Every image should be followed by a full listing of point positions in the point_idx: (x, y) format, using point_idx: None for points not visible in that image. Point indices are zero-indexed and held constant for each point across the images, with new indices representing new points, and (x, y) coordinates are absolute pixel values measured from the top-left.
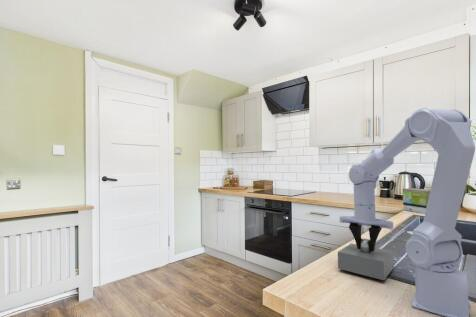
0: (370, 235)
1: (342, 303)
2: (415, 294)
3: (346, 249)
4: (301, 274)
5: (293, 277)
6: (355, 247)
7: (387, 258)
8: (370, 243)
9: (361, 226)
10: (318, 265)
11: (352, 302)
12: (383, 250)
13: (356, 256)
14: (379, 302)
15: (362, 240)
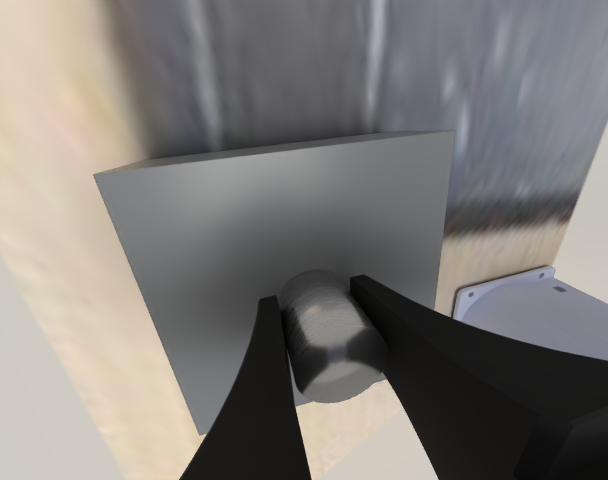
0: (438, 458)
1: (324, 447)
2: (458, 313)
3: (202, 366)
4: (136, 451)
5: (140, 476)
6: (212, 272)
7: (431, 296)
8: (385, 371)
9: (308, 471)
10: (98, 361)
11: (339, 431)
12: (396, 170)
13: (307, 400)
14: (385, 390)
15: (331, 401)
